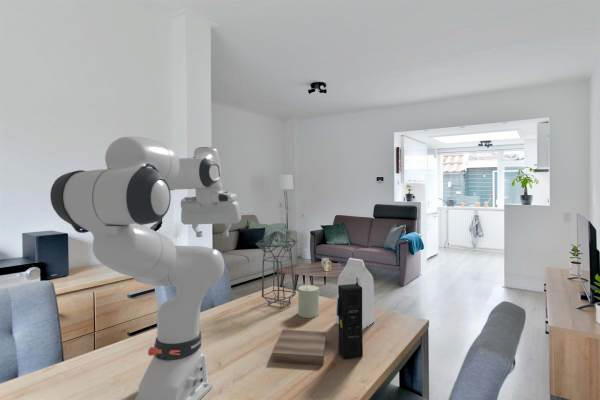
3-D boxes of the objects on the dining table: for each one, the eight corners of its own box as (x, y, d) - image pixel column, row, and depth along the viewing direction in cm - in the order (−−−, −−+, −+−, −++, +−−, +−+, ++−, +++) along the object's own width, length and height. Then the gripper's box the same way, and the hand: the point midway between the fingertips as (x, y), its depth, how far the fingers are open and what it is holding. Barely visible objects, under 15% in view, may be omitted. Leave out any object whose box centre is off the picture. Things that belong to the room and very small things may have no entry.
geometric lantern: (283, 312, 153) (281, 233, 152) (255, 307, 161) (253, 232, 160) (301, 302, 166) (299, 229, 165) (275, 297, 174) (272, 228, 173)
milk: (375, 321, 142) (375, 258, 141) (361, 330, 133) (361, 263, 132) (350, 315, 149) (350, 255, 149) (335, 323, 141) (335, 259, 140)
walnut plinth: (323, 365, 107) (323, 355, 107) (272, 362, 109) (272, 352, 109) (326, 340, 125) (326, 331, 125) (282, 337, 127) (282, 329, 127)
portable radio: (341, 360, 110) (341, 282, 109) (334, 351, 116) (334, 277, 115) (363, 357, 112) (364, 280, 111) (356, 349, 118) (356, 276, 117)
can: (295, 316, 148) (295, 288, 147) (301, 309, 156) (301, 283, 156) (316, 319, 145) (316, 290, 144) (321, 311, 154) (321, 284, 153)
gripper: (175, 198, 114) (179, 239, 116) (235, 196, 112) (238, 238, 113) (184, 196, 120) (187, 235, 122) (241, 194, 118) (243, 234, 119)
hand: (212, 236), depth 118 cm, fingers open, 8 cm apart
